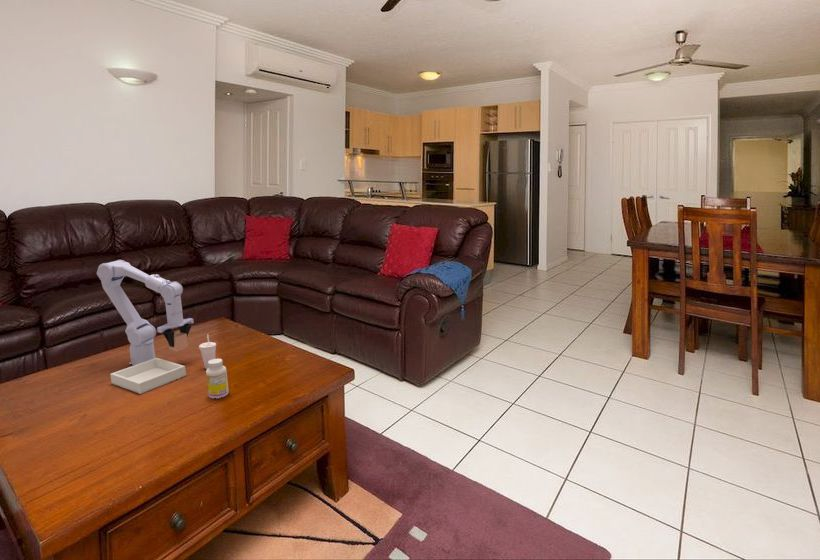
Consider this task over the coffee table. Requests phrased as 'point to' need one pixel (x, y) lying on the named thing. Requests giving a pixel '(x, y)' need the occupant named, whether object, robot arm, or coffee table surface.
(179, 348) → the brown cube block
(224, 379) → the supplement bottle
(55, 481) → the coffee table surface
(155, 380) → the tray
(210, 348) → the smoothie
